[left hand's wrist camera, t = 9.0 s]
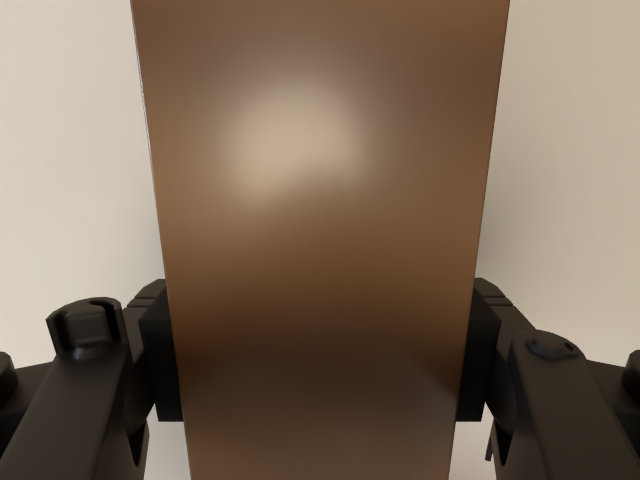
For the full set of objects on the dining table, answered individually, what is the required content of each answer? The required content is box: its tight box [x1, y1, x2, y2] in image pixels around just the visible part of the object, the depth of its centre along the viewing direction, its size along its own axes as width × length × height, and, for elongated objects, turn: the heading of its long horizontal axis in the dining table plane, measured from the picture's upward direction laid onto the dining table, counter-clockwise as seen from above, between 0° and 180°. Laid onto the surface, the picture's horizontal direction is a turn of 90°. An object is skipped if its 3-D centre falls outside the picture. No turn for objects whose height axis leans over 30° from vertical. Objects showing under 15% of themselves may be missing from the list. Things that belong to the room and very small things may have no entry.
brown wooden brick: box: [130, 0, 510, 480], centre depth 10 cm, size 19×6×8 cm, turn 0°
